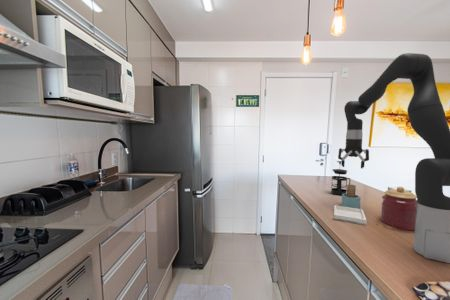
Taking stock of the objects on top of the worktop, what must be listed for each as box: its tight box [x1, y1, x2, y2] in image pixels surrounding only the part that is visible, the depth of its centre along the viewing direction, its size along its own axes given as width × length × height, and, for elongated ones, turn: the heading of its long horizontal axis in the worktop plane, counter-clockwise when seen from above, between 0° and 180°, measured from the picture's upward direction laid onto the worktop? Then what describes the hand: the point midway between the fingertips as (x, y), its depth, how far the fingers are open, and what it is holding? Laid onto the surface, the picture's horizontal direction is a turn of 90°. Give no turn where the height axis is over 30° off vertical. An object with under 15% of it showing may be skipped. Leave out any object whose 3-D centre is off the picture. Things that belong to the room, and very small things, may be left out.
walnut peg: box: [346, 184, 357, 198], centre depth 113 cm, size 4×4×12 cm
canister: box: [380, 186, 417, 231], centre depth 92 cm, size 13×13×18 cm
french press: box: [330, 160, 351, 197], centre depth 138 cm, size 12×9×23 cm
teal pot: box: [341, 192, 361, 209], centre depth 114 cm, size 9×9×7 cm
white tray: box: [333, 205, 368, 226], centre depth 102 cm, size 15×13×2 cm
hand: (352, 167), depth 112 cm, fingers open, 8 cm apart
